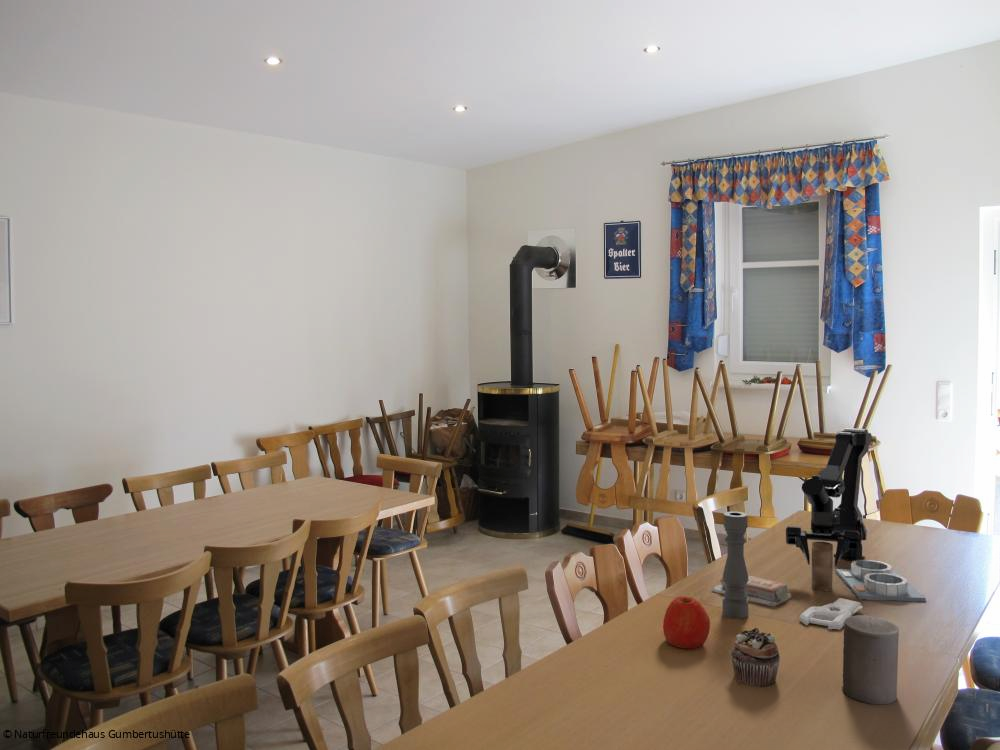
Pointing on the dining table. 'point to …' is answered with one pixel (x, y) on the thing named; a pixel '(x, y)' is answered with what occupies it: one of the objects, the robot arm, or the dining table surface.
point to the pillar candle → (870, 659)
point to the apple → (686, 623)
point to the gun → (831, 613)
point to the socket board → (879, 597)
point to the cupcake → (755, 658)
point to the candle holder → (735, 566)
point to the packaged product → (761, 591)
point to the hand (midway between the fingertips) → (822, 565)
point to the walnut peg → (822, 565)
